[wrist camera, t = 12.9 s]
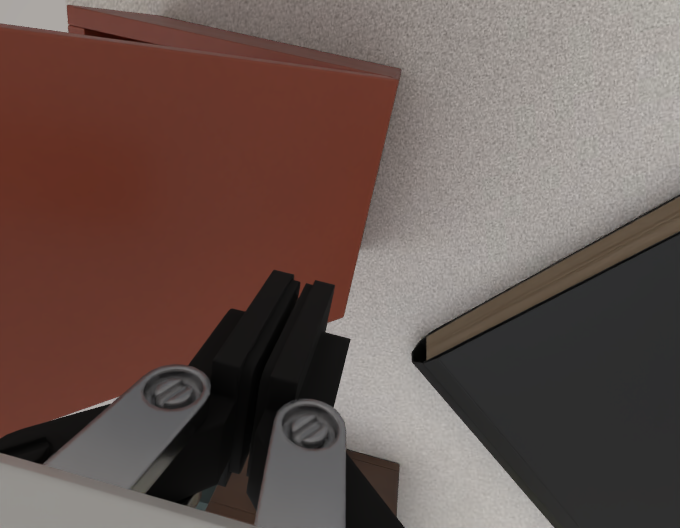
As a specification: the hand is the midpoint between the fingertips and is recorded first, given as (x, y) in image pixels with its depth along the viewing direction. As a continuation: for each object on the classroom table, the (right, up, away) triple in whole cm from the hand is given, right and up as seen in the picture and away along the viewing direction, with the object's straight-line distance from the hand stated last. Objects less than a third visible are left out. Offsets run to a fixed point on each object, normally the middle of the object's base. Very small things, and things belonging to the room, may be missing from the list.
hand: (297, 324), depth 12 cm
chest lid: (-4, +3, +4) cm, 6 cm away
